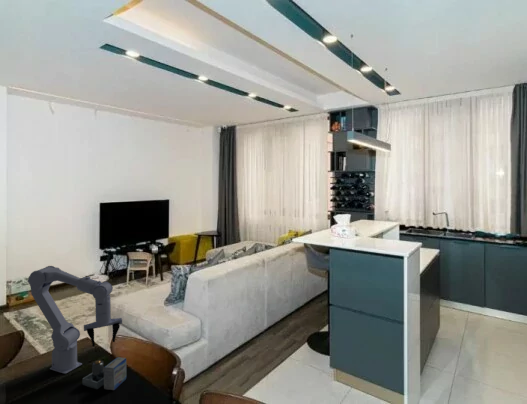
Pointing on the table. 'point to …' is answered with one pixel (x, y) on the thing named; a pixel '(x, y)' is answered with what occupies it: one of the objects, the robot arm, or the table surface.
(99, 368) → the battery cell
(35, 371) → the table surface
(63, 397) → the table surface
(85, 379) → the trough
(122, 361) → the medicine box
